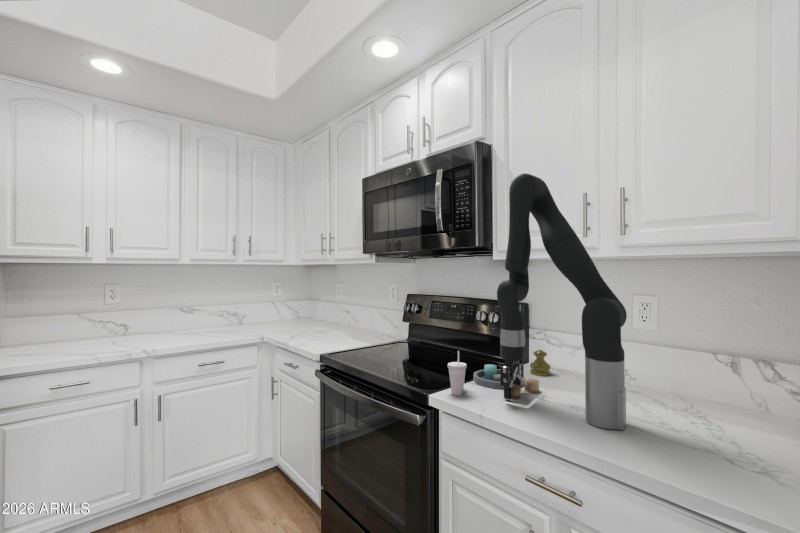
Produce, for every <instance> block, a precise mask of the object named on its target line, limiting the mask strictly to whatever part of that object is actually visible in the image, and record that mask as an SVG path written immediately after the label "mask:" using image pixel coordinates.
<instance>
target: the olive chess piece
mask: <svg viewBox="0 0 800 533" xmlns="http://www.w3.org/2000/svg"><path fill="white" fill-rule="evenodd" d="M532 354H533V355H534V356H535V360H533V361H532V362H530V364H529V367H530V368H529V374H530V375H533V376H537V377H549V376H551V366H552V365H551V364H549V363H548V362H547V361H546V360H545V357H546V356H547V355H548V353H547V352H546V351H544V350H542V349H538V350H535V351H533V353H532Z"/></svg>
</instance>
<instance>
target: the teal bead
mask: <svg viewBox="0 0 800 533" xmlns="http://www.w3.org/2000/svg"><path fill="white" fill-rule="evenodd" d="M483 366H484V368H483V370H484V378H486V379H493V375H494V374H497V368H498V367H497V365H495V364H491V363H489V364H484V365H483Z"/></svg>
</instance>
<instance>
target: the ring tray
mask: <svg viewBox="0 0 800 533" xmlns="http://www.w3.org/2000/svg"><path fill="white" fill-rule="evenodd" d="M472 377H473V378H472V381H473V382H474V383H475V384H476V385H479V386H481V387H485V388H490V389H495V390H496V389H497V390H504V386H501V384H500V381H501V368H499V369H497V374H494V375H493V379H486V378H484V369H479V370H476V371H474V372H473V375H472ZM503 381H504V378H503ZM506 382H507V381H506ZM512 384H513V383H512ZM523 386H525V376H523V378H522V380H521V388H522V387H523Z"/></svg>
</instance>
